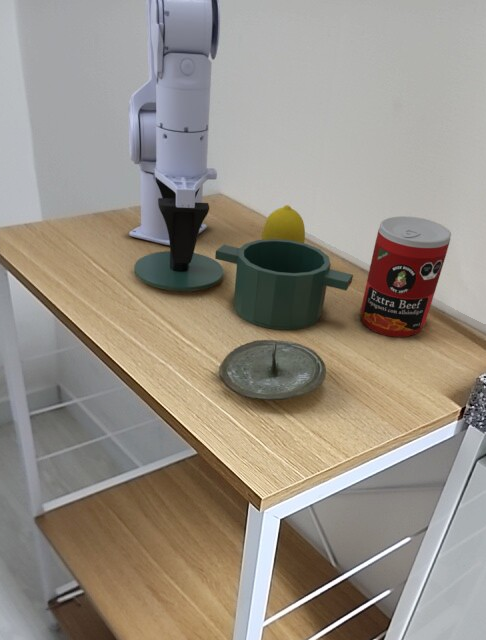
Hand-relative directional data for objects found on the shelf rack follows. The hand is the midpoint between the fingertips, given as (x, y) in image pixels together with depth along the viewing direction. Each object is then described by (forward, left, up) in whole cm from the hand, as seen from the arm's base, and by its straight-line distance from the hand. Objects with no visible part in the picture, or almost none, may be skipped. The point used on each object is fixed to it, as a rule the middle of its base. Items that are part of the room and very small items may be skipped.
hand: (179, 249), depth 79 cm
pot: (+2, +14, -4) cm, 15 cm away
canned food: (-2, +27, -4) cm, 27 cm away
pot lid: (0, 0, -3) cm, 3 cm away
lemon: (-10, +10, -4) cm, 15 cm away
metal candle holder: (+18, +19, -4) cm, 26 cm away
